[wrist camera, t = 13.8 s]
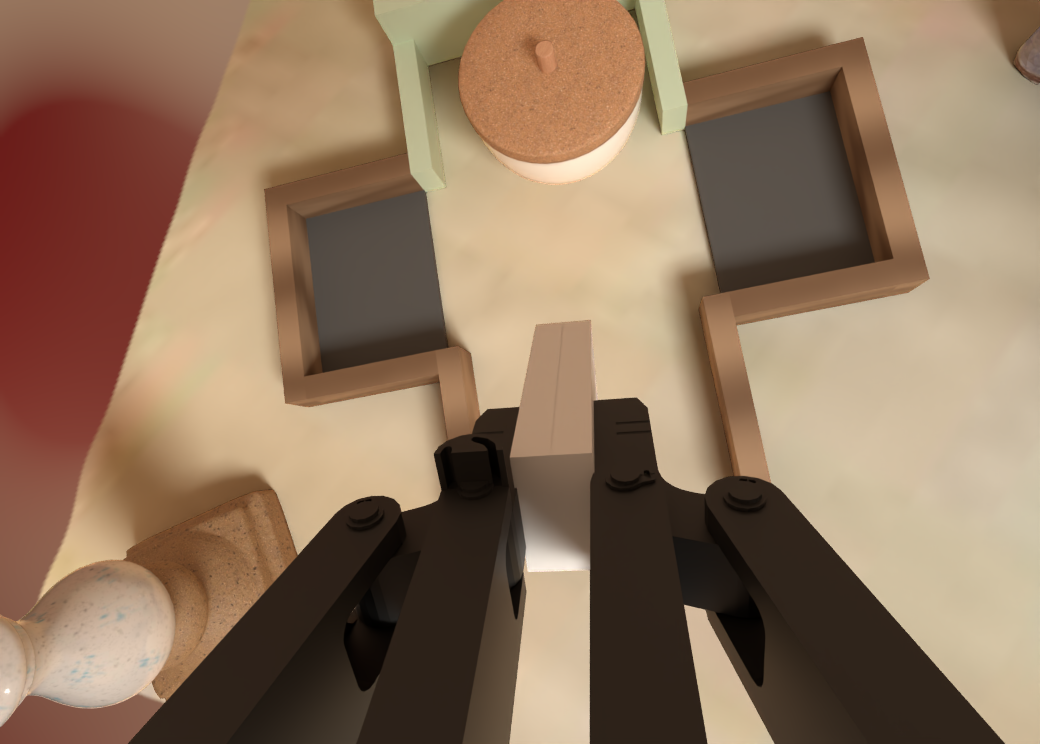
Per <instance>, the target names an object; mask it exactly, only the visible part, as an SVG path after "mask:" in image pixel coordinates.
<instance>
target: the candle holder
mask: <svg viewBox="0 0 1040 744" xmlns="http://www.w3.org/2000/svg"><path fill="white" fill-rule="evenodd" d="M297 556H298V555H297V552H296V549H295V546H294V543H293V540H292V537H291V534H290V531H289V528H288V525H287V522H286V519H285V516H284V513H283V510H282V508H281V505H280V502H279V500H278V497H277V495H276V493H275V492H274V491H273V490H264V491H255V492H252V493H249V494H247V495H244V496H241V497H238V498H236V499H233V500H231V501H229V502H227V503H225V504H223V505H220V506H218V507H216V508H214V509H212V510H209V511H207V512H205V513H203V514H201V515H198V516H196V517H194V518H192V519H190V520H187V521H185V522H183V523H181V524H179V525H177V526H174V527H172V528H170V529H168V530H166V531H163V532H161V533H159V534H157V535H155V536H152V537H150V538H148V539H146V540H144V541H142V542H141V543H139V544H137V545H135V546H133V547H131V548H130V549H129V550H128V551H127V557H126V558H125V559H124V560H105V561H99V562H95V563H92V564H89V565H86V566H84V567H81V568H79V569H77V570H75V571H73V572H72V573H70V574H68V575H67V576H65V577H63V578H62V579H61V580H60V581H58V582H57V583H56V584H55V585H54V586H52V587H51V588H50V589H49V590H48V591H47V592H46V593H45V594H44V596H43V597H42V598H41V599H40V600H39V601H38V602H37V603H36V604H35V606H34V607H33V608H32V609H31V610H30V611H29V612H28V613H27V614H26V615H25V616H24V617H22V618H21V619H20V620H18V621H13V620H11V619H9V618H6V617H3V616H2V615H0V727H1V726H2V725H3V724H4V723H5V722H6V721H7V720H8V719H9V718H10V716H11V715H12V713H13V712H14V711H15V709H16V708H17V707H18V705H19V704H20V703H21V702H22V701H23V699H24V698H25V697H26V696H27V695H35V696H41V697H44V698H47V699H49V700H52V701H54V702H58V703H60V704H64V705H67V706H72V707H77V708H100V707H107V706H111V705H114V704H117V703H120V702H123V701H125V700H127V699H129V698H130V697H132V696H134V695H136V694H138V693H139V692H141V691H142V690H143V689H145V688H146V687H147V686H148V685H149V684H150V683H151V682H152V684H153V687H154V690H155V692H156V693H157V695H158V696H159V697H160V699H161V698H165V699H166V701H167V700H168V699H169V698H170V696H171V695H172V694H173V693H174V692H175V691H176V690H177V689H178V688H179V687H180V685H181V684H182V683H183V682H184V681H185V680H186V679H187V678H188V677H189V675H190V674H191V673H192V672H193V671H194V670H195V669H196V668H197V667H198V665H199V664H200V663H201V662H202V661H203V660H204V659H205V658H206V657H207V656H208V654H209V653H210V652H211V651H212V650H213V649H214V648H215V647H216V646H217V644H218V643H219V642H220V641H221V640H222V639H223V638H224V637H225V636H226V634H227V633H228V632H229V631H230V630H231V629H232V628H233V627H234V626H235V624H236V623H237V622H238V621H239V620H240V619H241V618H242V617H243V616H244V615H245V613H246V612H247V611H248V610H249V609H250V608H251V607H252V606H253V605H254V603H255V602H256V601H257V600H258V599H259V598H260V597H261V596H262V595H263V593H264V592H265V591H266V590H267V589H268V588H269V587H270V586H271V585H272V584H273V582H274V581H275V580H276V579H277V578H278V577H279V576H280V575H281V574H282V572H283V571H284V570H285V569H286V568H287V567H288V566H289V565H290V564H291V562H292V561H293V560H294V559H295V558H296V557H297Z"/></svg>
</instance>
